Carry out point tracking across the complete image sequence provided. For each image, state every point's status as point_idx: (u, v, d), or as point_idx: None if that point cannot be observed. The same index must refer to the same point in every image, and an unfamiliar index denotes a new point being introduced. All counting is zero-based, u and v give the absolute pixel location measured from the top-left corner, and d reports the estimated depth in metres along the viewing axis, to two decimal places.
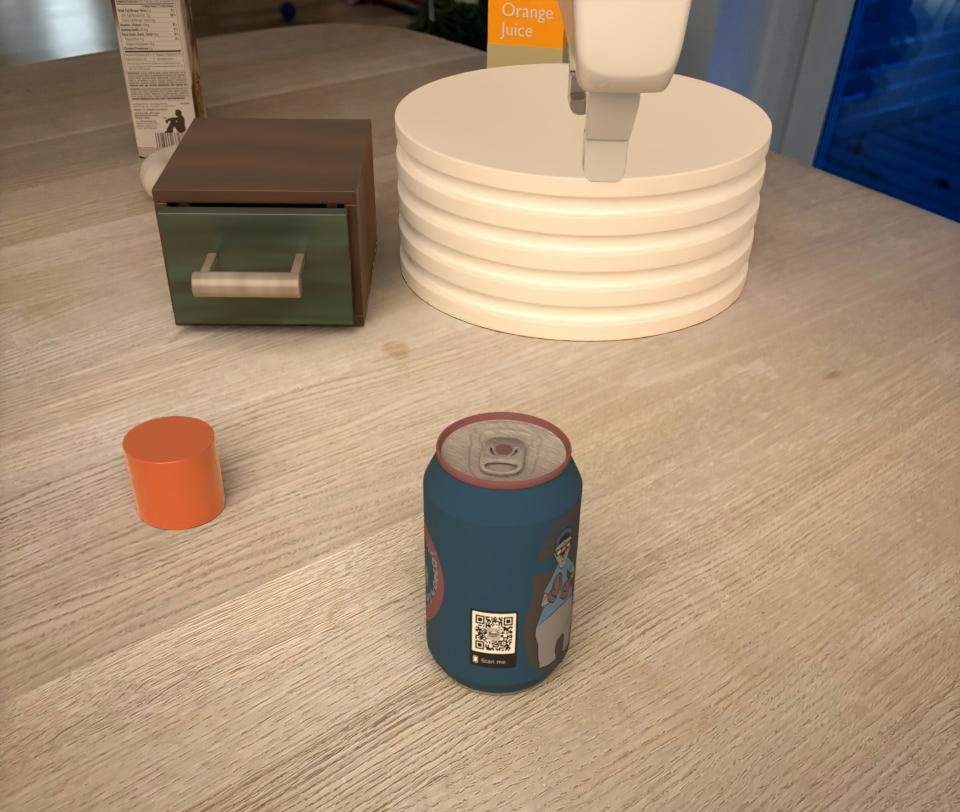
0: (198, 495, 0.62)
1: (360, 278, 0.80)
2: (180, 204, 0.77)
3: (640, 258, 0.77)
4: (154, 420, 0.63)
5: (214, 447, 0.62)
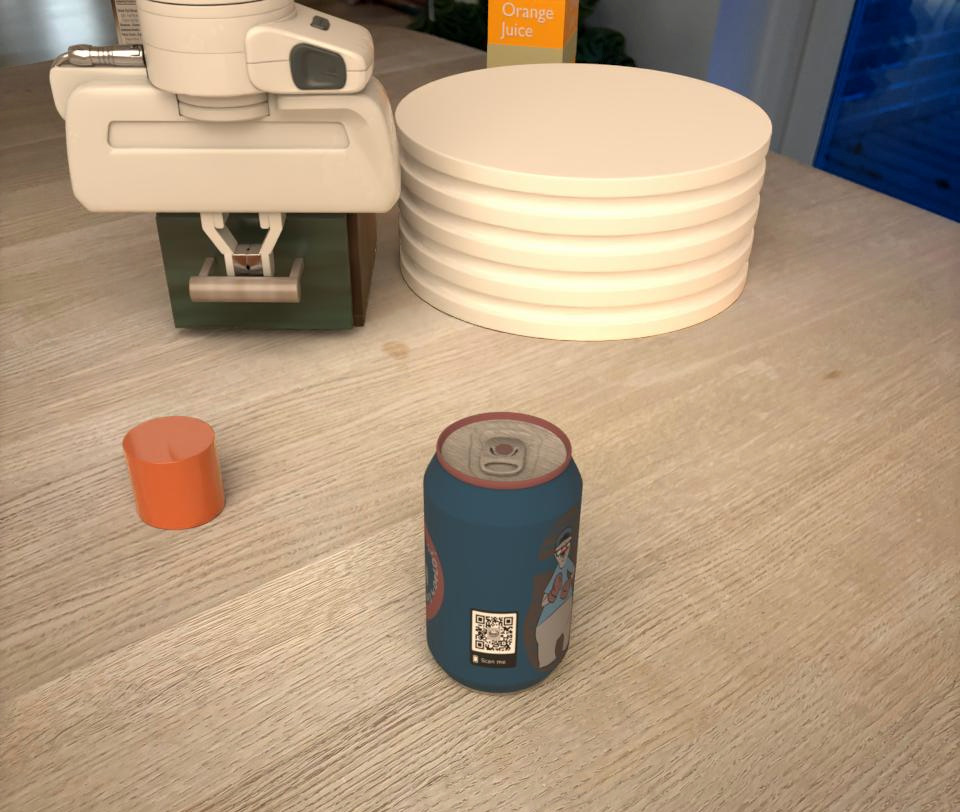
0: (198, 495, 0.62)
1: (360, 278, 0.80)
2: None
3: (640, 258, 0.77)
4: (154, 420, 0.63)
5: (214, 447, 0.62)
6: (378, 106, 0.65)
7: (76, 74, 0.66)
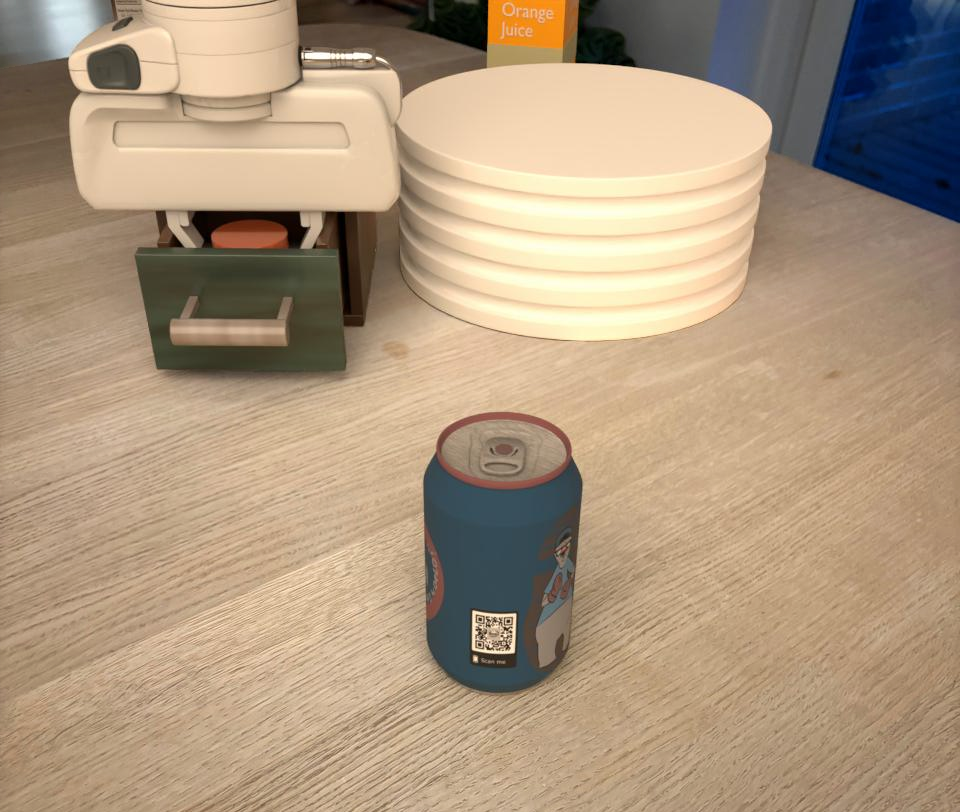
0: None
1: (360, 278, 0.80)
2: (159, 244, 0.72)
3: (640, 258, 0.77)
4: (235, 222, 0.75)
5: (287, 241, 0.74)
6: None
7: None
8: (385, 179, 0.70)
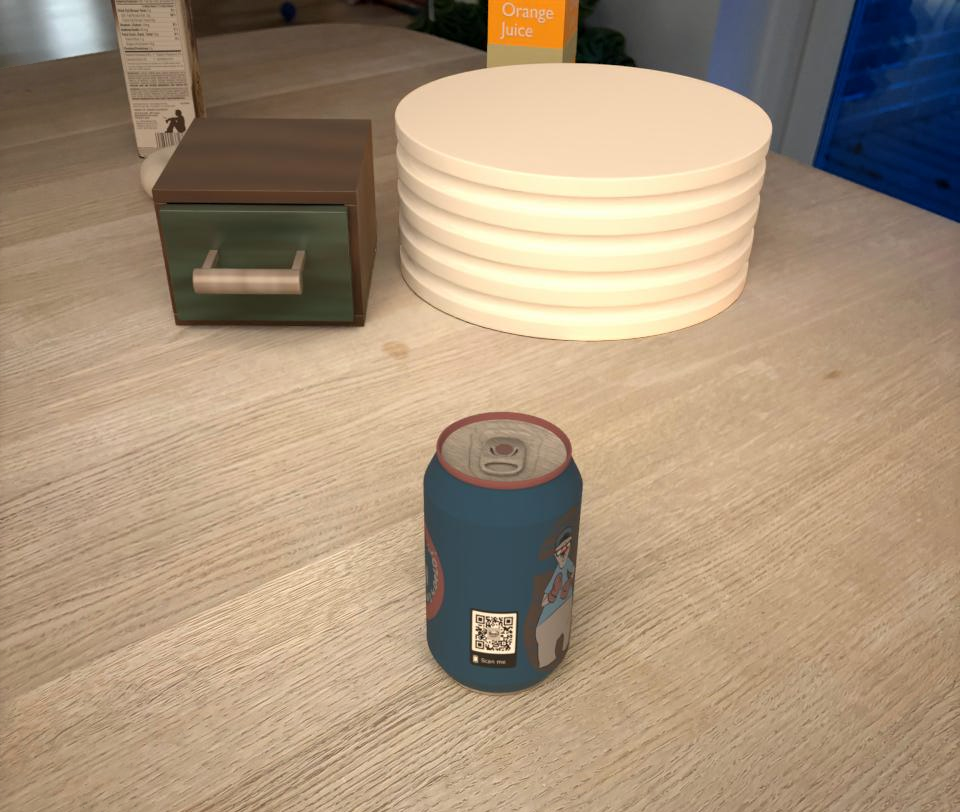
0: None
1: (360, 278, 0.80)
2: None
3: (640, 258, 0.77)
4: None
5: None
6: None
7: None
8: None
